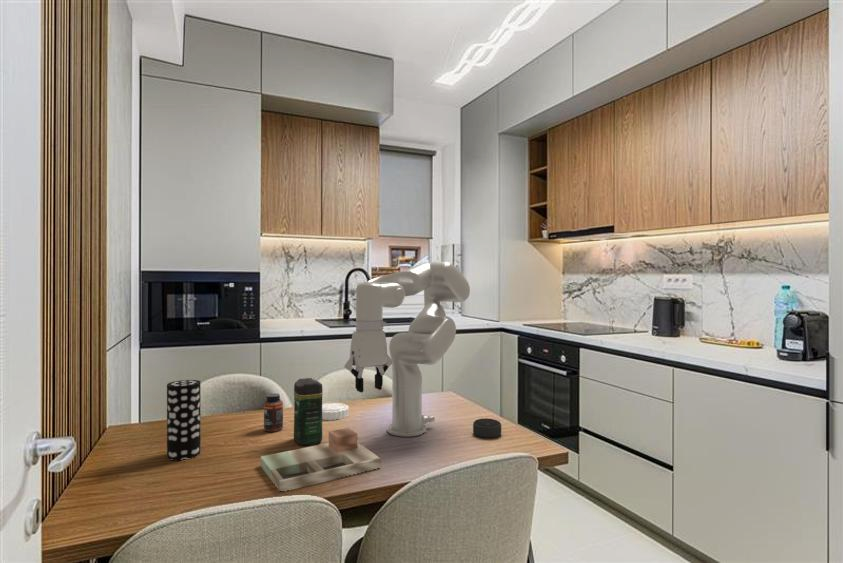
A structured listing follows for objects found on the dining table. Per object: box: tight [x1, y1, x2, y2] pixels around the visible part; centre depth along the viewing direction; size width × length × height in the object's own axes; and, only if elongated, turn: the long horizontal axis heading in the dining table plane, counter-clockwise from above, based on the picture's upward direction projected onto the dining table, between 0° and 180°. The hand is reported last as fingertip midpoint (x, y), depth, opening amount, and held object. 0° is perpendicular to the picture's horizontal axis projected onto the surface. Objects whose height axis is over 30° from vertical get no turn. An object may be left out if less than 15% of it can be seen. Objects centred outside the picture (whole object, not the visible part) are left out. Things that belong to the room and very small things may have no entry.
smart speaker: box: [472, 418, 502, 439], centre depth 150 cm, size 9×9×4 cm
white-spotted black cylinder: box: [166, 379, 202, 460], centre depth 131 cm, size 8×8×20 cm
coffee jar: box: [293, 377, 324, 446], centre depth 143 cm, size 10×8×19 cm
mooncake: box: [322, 402, 350, 421], centre depth 169 cm, size 12×12×4 cm
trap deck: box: [259, 442, 382, 492], centre depth 123 cm, size 26×18×2 cm
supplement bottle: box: [263, 393, 284, 433], centre depth 153 cm, size 6×6×11 cm
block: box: [328, 427, 359, 452], centre depth 131 cm, size 6×6×4 cm
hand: (369, 389), depth 135 cm, fingers open, 5 cm apart
